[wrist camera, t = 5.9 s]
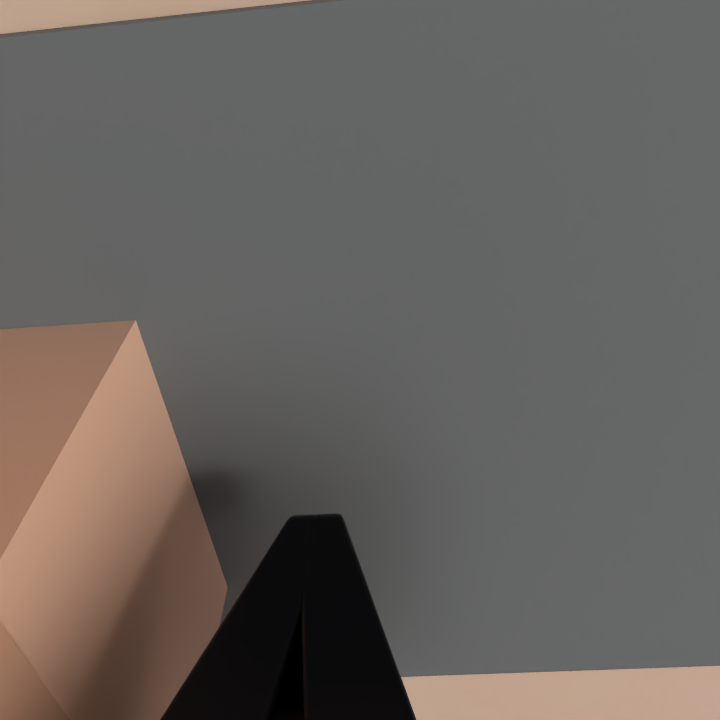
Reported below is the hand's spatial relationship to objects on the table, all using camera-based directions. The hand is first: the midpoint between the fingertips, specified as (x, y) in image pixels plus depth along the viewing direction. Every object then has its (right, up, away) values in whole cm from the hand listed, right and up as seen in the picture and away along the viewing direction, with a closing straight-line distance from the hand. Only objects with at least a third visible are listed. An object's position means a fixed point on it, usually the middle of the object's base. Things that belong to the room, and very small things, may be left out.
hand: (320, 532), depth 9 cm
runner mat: (-8, 0, +2) cm, 8 cm away
